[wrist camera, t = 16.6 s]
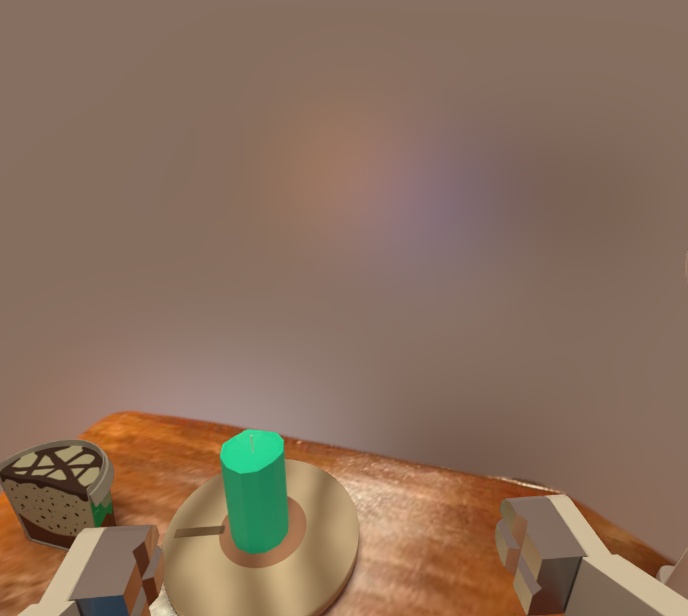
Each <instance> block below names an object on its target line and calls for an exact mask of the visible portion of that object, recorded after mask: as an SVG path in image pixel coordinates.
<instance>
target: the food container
mask: <svg viewBox="0 0 688 616" xmlns="http://www.w3.org/2000/svg"><path fill="white" fill-rule="evenodd" d="M113 479H114V468H113V464H112V463H111V461H110V460H109V458H108V457H107V455H106V453H105V452H104V451H103V450H102V449H101V448H99V447H98V446H97V445H96V444H94V443H92V442H89V441H86V440H80V439H65V440H58V441H51V442H47V443H43V444H40V445H37V446H34V447H31V448H28V449H26V450H23V451H21V452H19V453H17V454H15V455H13V456H11V457H9V458H7V459H5V460H4V461H2V462H0V484H1V486H2V487H3V490H4V491H5V493H6V495H7V497H8V499H9V501H10V503H11V505H12V507H13V509H14V511H15V513H16V515H17V517H18V519H19V521H20V523H21V525H22V527H23V529H24V531H25V533H26V535H27V537H28V539H29V541H32V542H36V543H39V544H43V545H46V546H50V547H54V548H57V549H61V550H64V551H69V549H70V548H71V546H72V544H73V542H74V540H75V539H76V537H77V535H78V534H79V533H80V532H81V531H82V530H83V529H85V528H99V527H115V519H114V513H113V506H112V500H111V493H110V487H111V485H112V483H113Z"/></svg>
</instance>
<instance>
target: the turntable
mask: <svg viewBox="0 0 688 616" xmlns="http://www.w3.org/2000/svg"><path fill="white" fill-rule="evenodd" d="M285 469H286V484H287V500H288V515H289V527H288V533H287V535H286V536H285V538H284V539H283V541H282V542H281V544H280V545H278V546H277V547H275V548H273V549H271V550H270V551H268V552H266V553H256V554H249V553H247V552H245V551H243V550H241V549H238V548H237V547H236V545H235V543H234V541H233V539H232V537H231V531H230V524H229V517H228V510H227V503H226V496H225V489H224V482H223V474H222V473H220V474H218V475H216V476H215V477H213V478H211V479H210V480H208V481H207V482H206V483H204V484H203V485H202V486H200V487H199V488H198V489H197V490H196V491H194V492H193V493H192V494H191V495H190V496H189V497H188V498H187V499H186V501H185V502H184V503H183V504H182V505H181V507H180V508H179V509H178V511H177V512H176V514H175V515H174V517H173V519H172V521H171V522H170V524H169V527H168V529H167V531H166V534H165V537H164V541H163V544H162V549H163V553H164V560H165V569H164V576H163V580H164V585H165V589H166V592H167V595H168V597H169V600H170V602H171V604H172V606H173V607H174V609H175V610H176V612H177V614H178V615H179V616H319V615H320V614H321V613H323V612H324V611H325V610H326V609H327V608H328V607H329V606H330V605H331V604H332V603H333V602H334V601H335V600H336V598H337V597H338V596H339V594H340V593H341V591H342V590H343V589H344V587H345V585H346V583H347V582H348V580H349V578H350V576H351V573H352V571H353V568H354V566H355V562H356V558H357V553H358V543H359V525H358V517H357V512H356V509H355V506H354V504H353V501H352V499H351V497H350V496H349V494H348V492H347V491H346V490H345V488H344V487H343V486H342V485H341V484H340V483H339V482H338V481H337V480H336V479H335V478H334V477H333V476H331V475H330V474H329V473H327V472H325V471H324V470H322V469H320V468H318V467H316V466H313V465H311V464H308V463H304V462H301V461H296V460H289V459H285Z"/></svg>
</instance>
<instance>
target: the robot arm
mask: <svg viewBox="0 0 688 616" xmlns="http://www.w3.org/2000/svg"><path fill="white" fill-rule="evenodd" d="M685 273H686V280H687V285H688V250H687V255H686V262H685ZM499 511H500V513H501V515H502V517H503V518H502V519H501V520H500V521H499V522H498V523H497V525H496V532H495V538H496V546H497V550H498V553H499V556H500V559H501V561H502V563H503V565H504V567H505V568H506V569H507V570H509V571H510V572H511V573H512V574H513V575H515V579H514V584H513V587H514V589H515V591H516V593H517V595H518V597H519V600H520V602H521V604H522V606H523V608H524V610H525V612H526V614H527V616H533V615H549V614H564V616H688V547H687V549H686V550H685V552H684V553H683V555H682V556H681V558H680V559H679V561H678V562H677V564H676V566H662V567H661V568H660V569H659V571H658V572H657V574H656V579H655V578H653V577H652V576H650V575H649V574H647V573H646V572H644V571H642V570H641V569H639V568H638V567H636V566H635V565H633V564H632V563H630V562H629V561H627V560H626V559H624V558H622V557H621V556H619V555H611V553H610V552H609V551H608V549H607V548H606V547H605V545H604V544H603V543H602V541H601V540H600V539H599V537H598V536H597V534H596V533H595V532H594V530H593V529H592V528H591V526H590V525H589V524H588V522H587V521H586V520H585V518H584V517H583V516H582V514H581V513H580V512H579V510H578V509H577V508H576V506H575V505H574V504H573V502H572V501H571V499H570V498H569V497H567V496H566V495H564V494H563V495H549V496H533V497H521V498H509V499H504V500H503V501H502V502H501V505H500V510H499ZM158 539H159V532H158V529H157V525H137V526H115V527H99V528H85V529H83V530H82V531H81V532H80V533H79V534H78V535H77V537H76V539H75V540H74V542H73V544H72V546H71V548H70V549H69V551H68V553H67V555H66V556H65V558H64V560H63V562H62V563H61V565H60V567H59V569H58V570H57V572H56V574H55V576H54V577H53V579H52V581H51V583H50V585H49V586H48V588H47V590H46V592H45V593H44V595H43V597H42V599H41V600H40V602H39V604H31V605H30V606H28V607H27V608H26V609H25V610H24V611H22V612H21V613H20V614H19V615H18V616H151V614H150V610H149V606H150V605H151V604H152V603H153V602H154V601H155V600H156V599H157V598H158V596H159V593H160V590H161V586H162V583H163V576H164V569H165V560H164V553H163V549H161V548H160V547H159V546H157V545H156V544H157V541H158Z"/></svg>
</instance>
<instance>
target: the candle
mask: <svg viewBox="0 0 688 616" xmlns="http://www.w3.org/2000/svg"><path fill="white" fill-rule="evenodd" d="M220 460H221V467H222V474H223V482H224V489H225V496H226V503H227V510H228V517H229V524H230V531H231V537H232V539H233V541H234V543H235V545H236V547H237V548H238V549H241V550H243V551H245V552H247V553H249V554H256V553H266V552H268V551H270V550H271V549H273V548H275V547H277V546H278V545H280V544H281V542H282V541H283V539H284V538H285V536H286V535H287V533H288V527H289V515H288V500H287V484H286V469H285V454H284V440H283V439H282V438H281V437H280V436H279V435H278V434H277V433H276V432H268V431H259V430H251V429H247V430H246V431H244V432H242V433H240V434H238V435H237V436H235V437H233V438H232V439H230V440H229V441H227V442H226V443H224V444H223V446H222V450H221V454H220Z"/></svg>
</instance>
